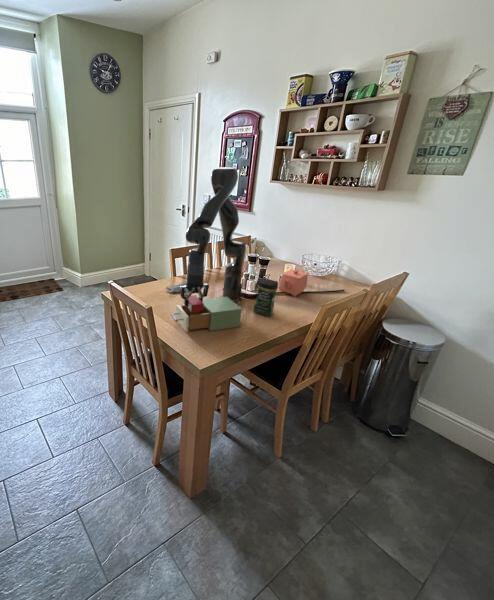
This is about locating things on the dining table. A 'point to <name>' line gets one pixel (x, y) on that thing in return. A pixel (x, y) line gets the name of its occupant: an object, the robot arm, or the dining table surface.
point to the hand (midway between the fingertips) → (193, 305)
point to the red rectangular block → (195, 304)
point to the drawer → (191, 318)
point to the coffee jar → (265, 296)
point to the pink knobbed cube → (293, 282)
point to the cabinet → (222, 313)
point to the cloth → (177, 288)
